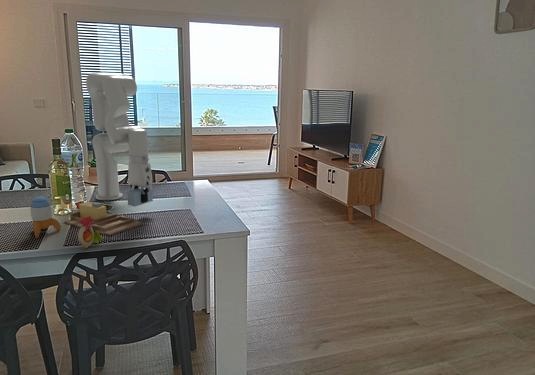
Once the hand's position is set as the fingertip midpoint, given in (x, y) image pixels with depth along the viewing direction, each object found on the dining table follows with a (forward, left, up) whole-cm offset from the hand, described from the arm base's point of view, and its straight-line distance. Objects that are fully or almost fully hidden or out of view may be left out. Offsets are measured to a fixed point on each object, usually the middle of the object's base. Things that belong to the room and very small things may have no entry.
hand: (140, 200), depth 180 cm
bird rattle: (+11, -33, -7) cm, 36 cm away
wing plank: (0, 0, -1) cm, 1 cm away
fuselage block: (-11, -15, -6) cm, 20 cm away
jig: (-5, -15, -7) cm, 18 cm away
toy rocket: (-16, -34, -7) cm, 39 cm away
